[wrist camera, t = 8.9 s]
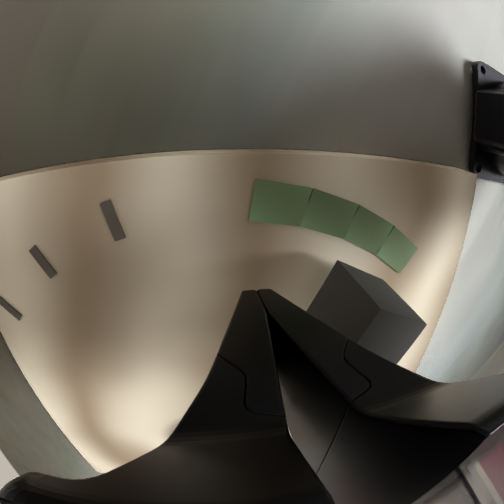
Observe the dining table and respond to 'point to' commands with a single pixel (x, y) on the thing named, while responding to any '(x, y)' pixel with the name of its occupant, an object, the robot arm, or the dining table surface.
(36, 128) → the dining table surface
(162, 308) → the dial board
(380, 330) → the dial needle
